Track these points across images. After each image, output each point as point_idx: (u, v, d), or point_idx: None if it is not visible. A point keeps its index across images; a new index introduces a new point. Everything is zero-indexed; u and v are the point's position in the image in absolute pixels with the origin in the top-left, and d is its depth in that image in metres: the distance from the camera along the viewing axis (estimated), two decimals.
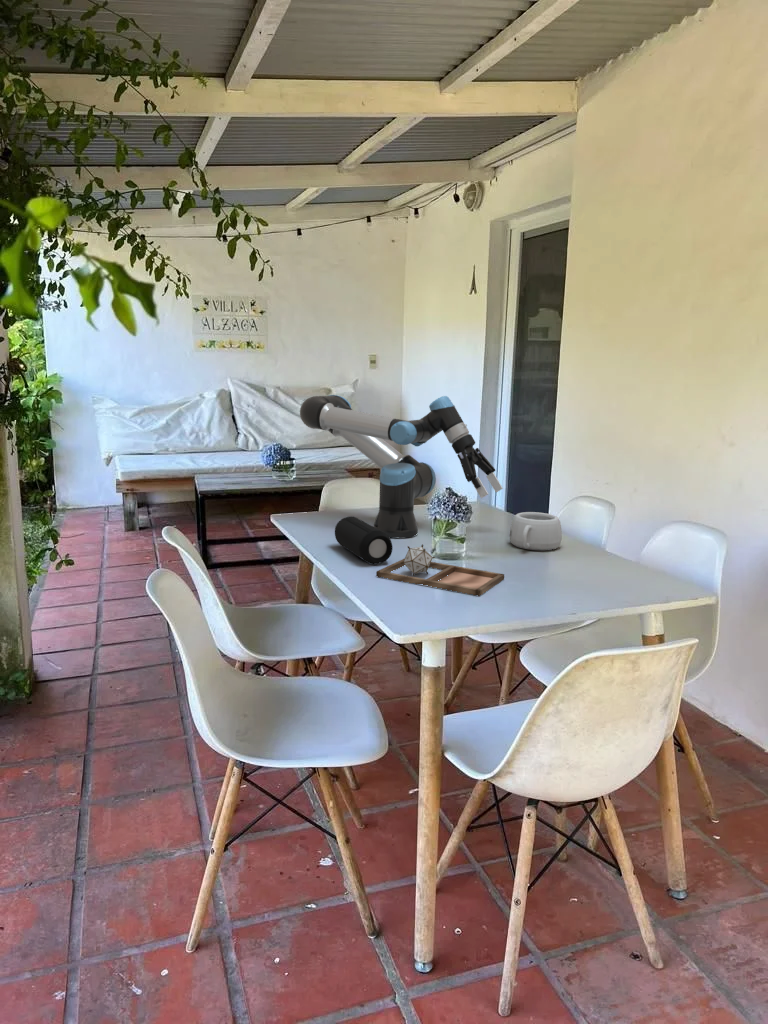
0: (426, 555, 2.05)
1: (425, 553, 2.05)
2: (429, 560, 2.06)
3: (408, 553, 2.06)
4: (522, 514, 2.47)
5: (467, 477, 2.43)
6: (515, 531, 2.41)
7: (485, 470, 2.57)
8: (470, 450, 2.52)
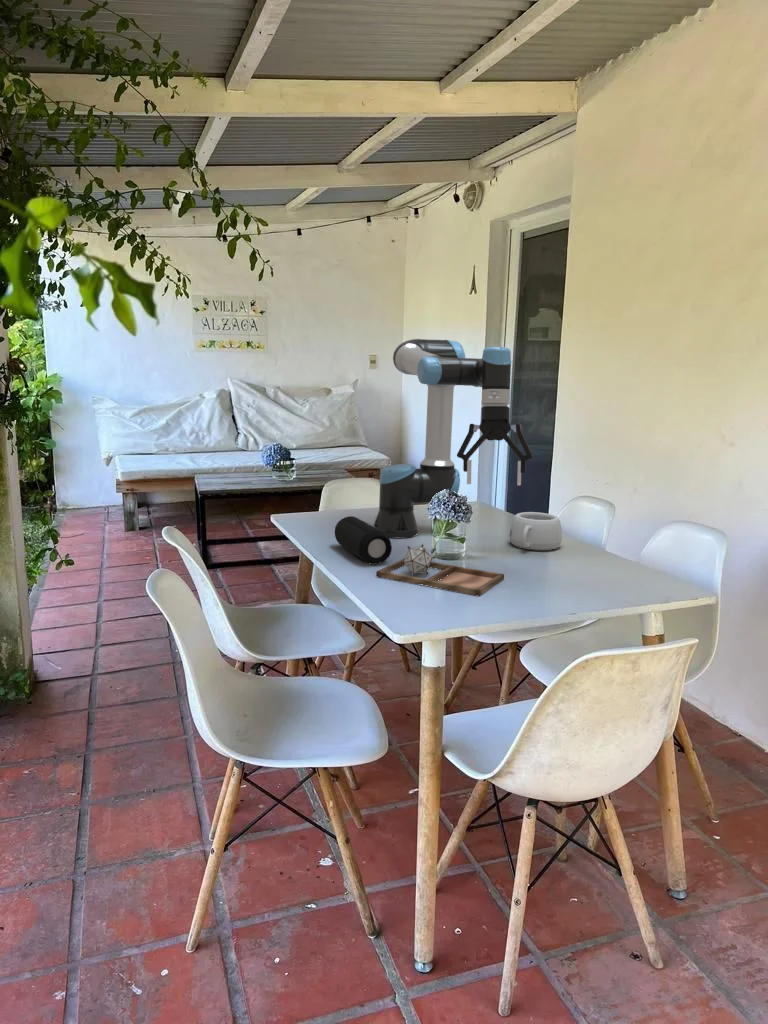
0: (426, 555, 2.05)
1: (425, 553, 2.05)
2: (429, 560, 2.06)
3: (408, 553, 2.06)
4: (522, 514, 2.47)
5: None
6: (515, 531, 2.41)
7: None
8: (493, 425, 2.02)
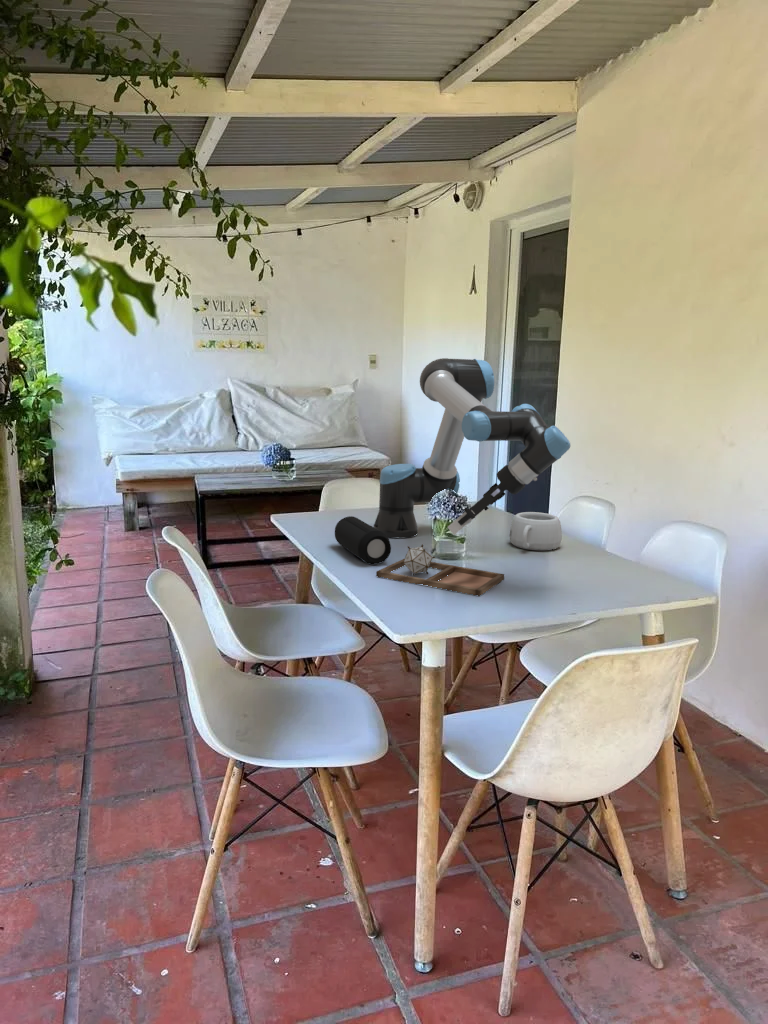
0: (426, 555, 2.05)
1: (425, 553, 2.05)
2: (429, 560, 2.06)
3: (408, 553, 2.06)
4: (522, 514, 2.47)
5: (469, 512, 1.90)
6: (515, 531, 2.41)
7: None
8: None
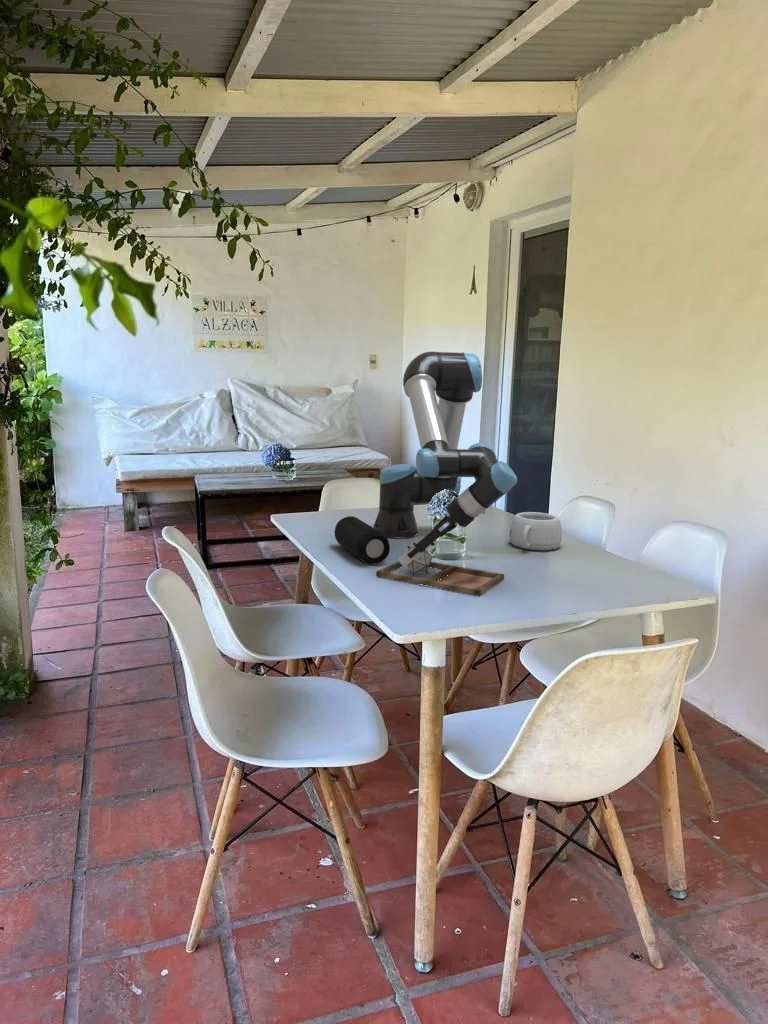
0: (426, 554, 2.06)
1: (425, 552, 2.05)
2: (429, 559, 2.06)
3: None
4: (522, 514, 2.47)
5: (417, 546, 1.98)
6: (515, 531, 2.41)
7: None
8: None
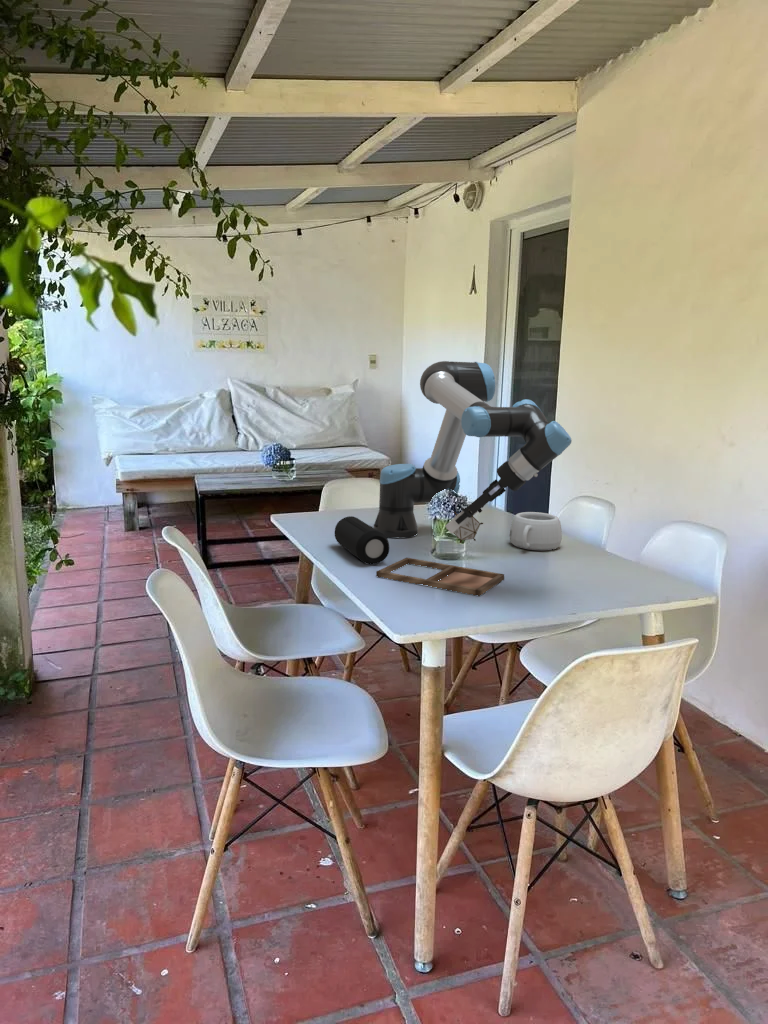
0: (474, 520, 1.97)
1: (473, 518, 1.97)
2: (477, 526, 1.98)
3: None
4: (522, 514, 2.47)
5: (466, 511, 1.90)
6: (515, 531, 2.41)
7: None
8: (504, 487, 1.93)
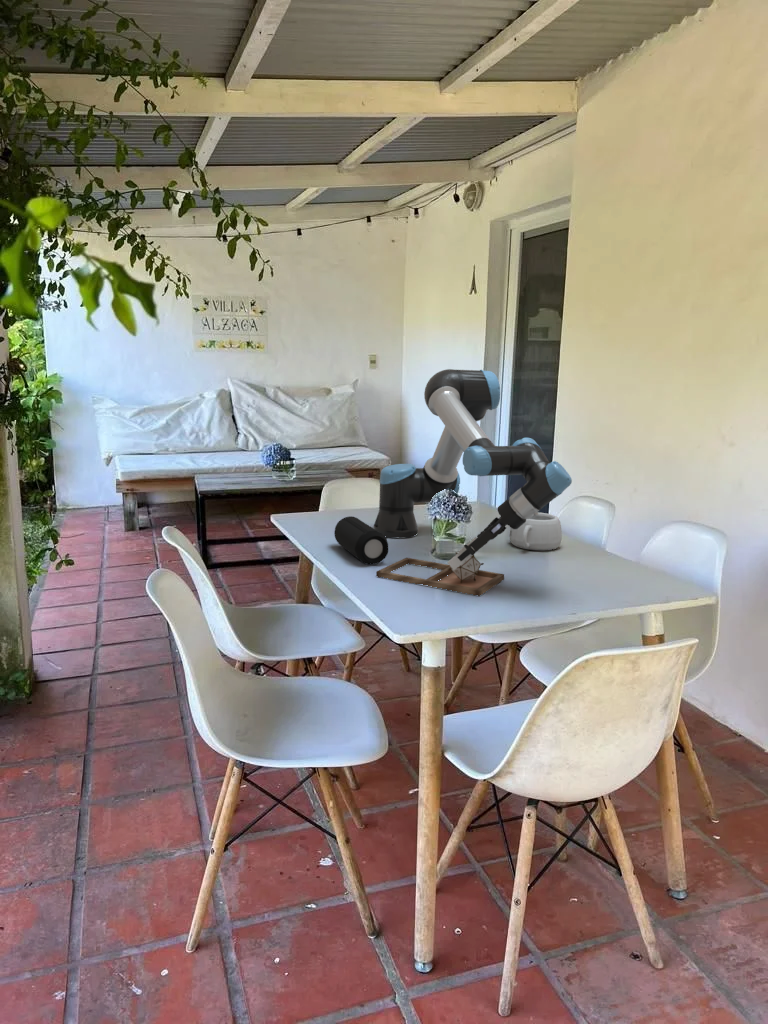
0: (475, 561, 1.99)
1: (474, 559, 1.99)
2: (478, 567, 2.00)
3: None
4: None
5: (468, 548, 1.90)
6: (515, 531, 2.41)
7: None
8: None
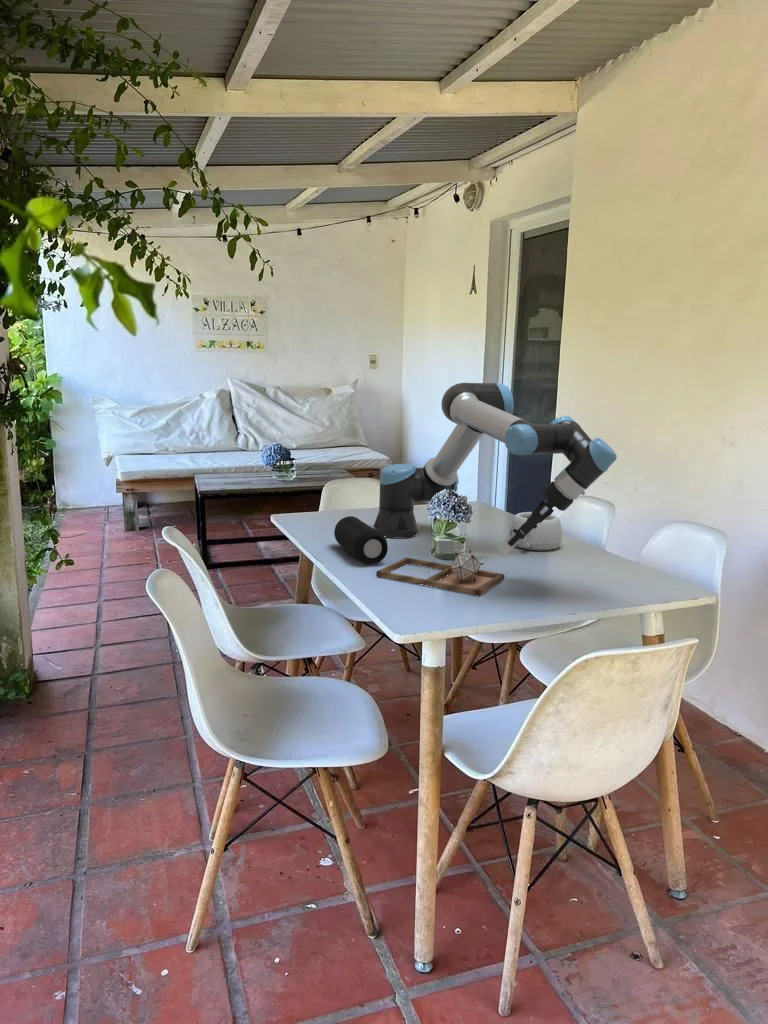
0: (475, 561, 1.99)
1: (473, 559, 1.99)
2: (477, 566, 2.00)
3: (456, 559, 2.00)
4: (522, 514, 2.47)
5: (518, 532, 1.87)
6: None
7: None
8: None
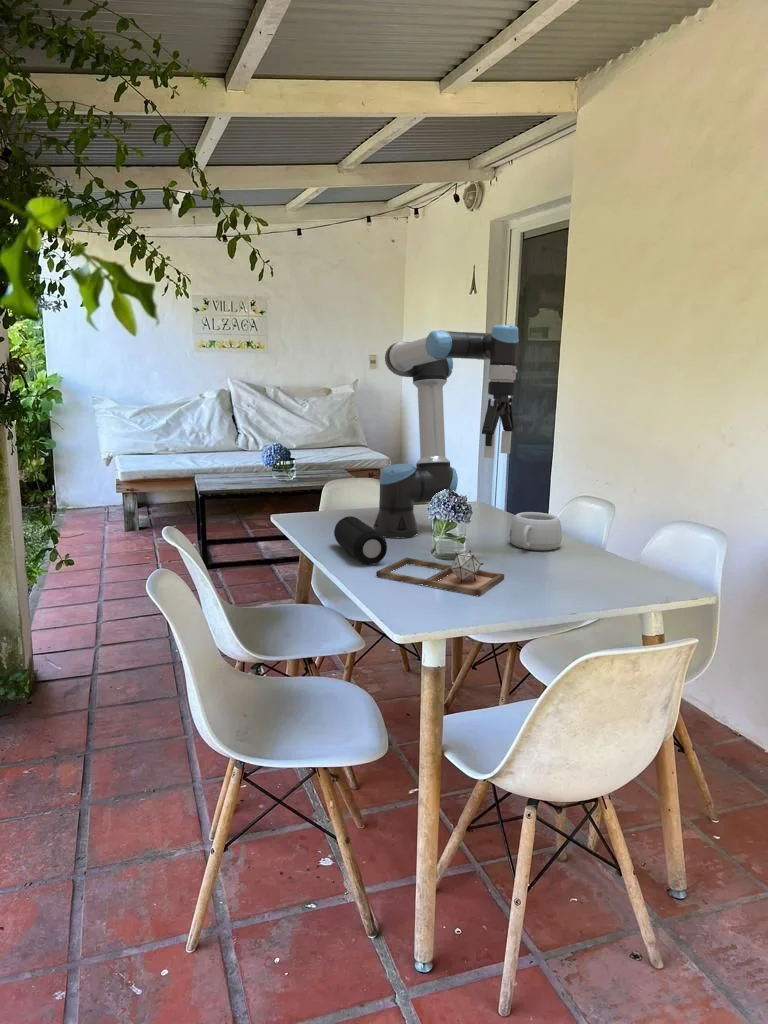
0: (475, 561, 1.99)
1: (473, 559, 1.99)
2: (477, 566, 2.00)
3: (456, 559, 2.00)
4: (522, 514, 2.47)
5: (484, 430, 2.08)
6: (515, 531, 2.41)
7: (505, 425, 2.22)
8: (504, 399, 2.14)
